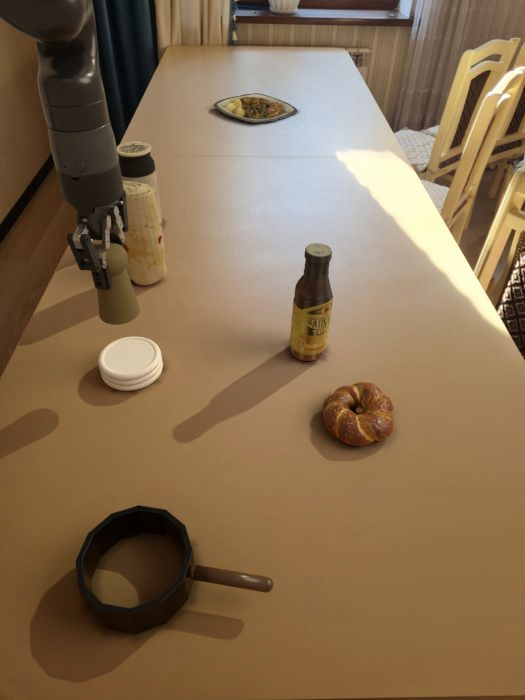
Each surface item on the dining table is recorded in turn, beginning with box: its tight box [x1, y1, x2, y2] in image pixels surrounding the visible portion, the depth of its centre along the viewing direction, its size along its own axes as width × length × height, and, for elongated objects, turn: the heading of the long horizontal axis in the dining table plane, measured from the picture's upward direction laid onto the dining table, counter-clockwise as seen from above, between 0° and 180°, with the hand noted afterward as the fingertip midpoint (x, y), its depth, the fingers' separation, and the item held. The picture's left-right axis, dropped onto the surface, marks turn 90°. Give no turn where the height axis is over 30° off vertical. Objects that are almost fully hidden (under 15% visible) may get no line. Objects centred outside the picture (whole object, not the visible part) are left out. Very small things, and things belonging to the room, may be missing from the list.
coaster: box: [97, 336, 164, 392], centre depth 88 cm, size 10×10×4 cm
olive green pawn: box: [95, 243, 141, 326], centre depth 77 cm, size 6×6×11 cm
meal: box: [212, 92, 299, 124], centre depth 184 cm, size 25×25×3 cm
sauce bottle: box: [289, 242, 334, 362], centre depth 86 cm, size 7×6×20 cm
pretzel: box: [321, 381, 394, 447], centre depth 80 cm, size 12×11×4 cm
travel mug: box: [116, 140, 163, 226], centre depth 119 cm, size 8×8×18 cm
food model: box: [119, 181, 168, 286], centre depth 102 cm, size 10×7×20 cm
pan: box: [75, 504, 274, 635], centre depth 61 cm, size 22×12×5 cm, turn 80°
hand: (111, 276), depth 77 cm, fingers closed on olive green pawn, 5 cm apart
